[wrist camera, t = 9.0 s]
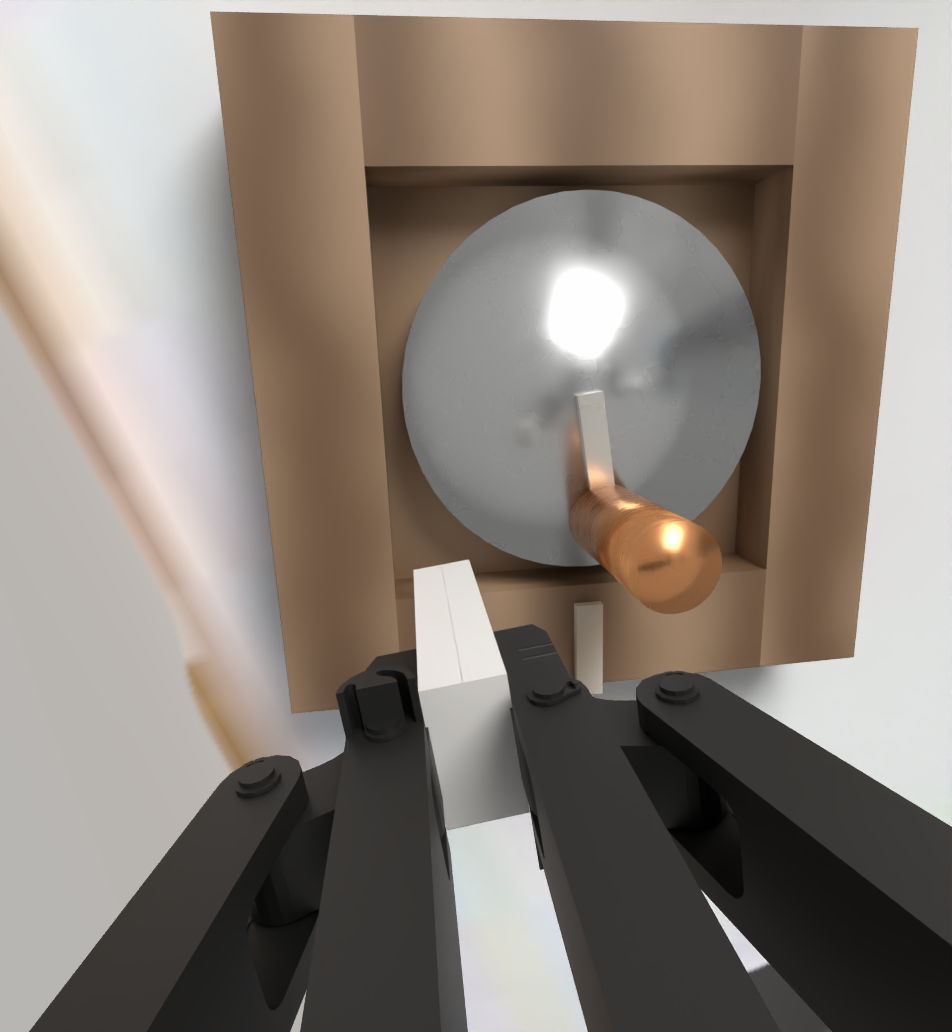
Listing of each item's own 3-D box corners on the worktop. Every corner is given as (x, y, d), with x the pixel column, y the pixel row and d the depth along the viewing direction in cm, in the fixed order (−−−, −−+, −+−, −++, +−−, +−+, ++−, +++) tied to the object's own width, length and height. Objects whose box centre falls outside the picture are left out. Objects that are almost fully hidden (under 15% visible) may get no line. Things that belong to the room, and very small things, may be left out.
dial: (367, 235, 22) (354, 162, 14) (717, 179, 23) (885, 81, 15) (437, 580, 25) (457, 676, 17) (743, 516, 26) (893, 579, 18)
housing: (830, 85, 25) (926, 23, 20) (788, 623, 30) (858, 667, 25) (244, 78, 22) (207, 5, 18) (307, 667, 27) (291, 725, 23)
